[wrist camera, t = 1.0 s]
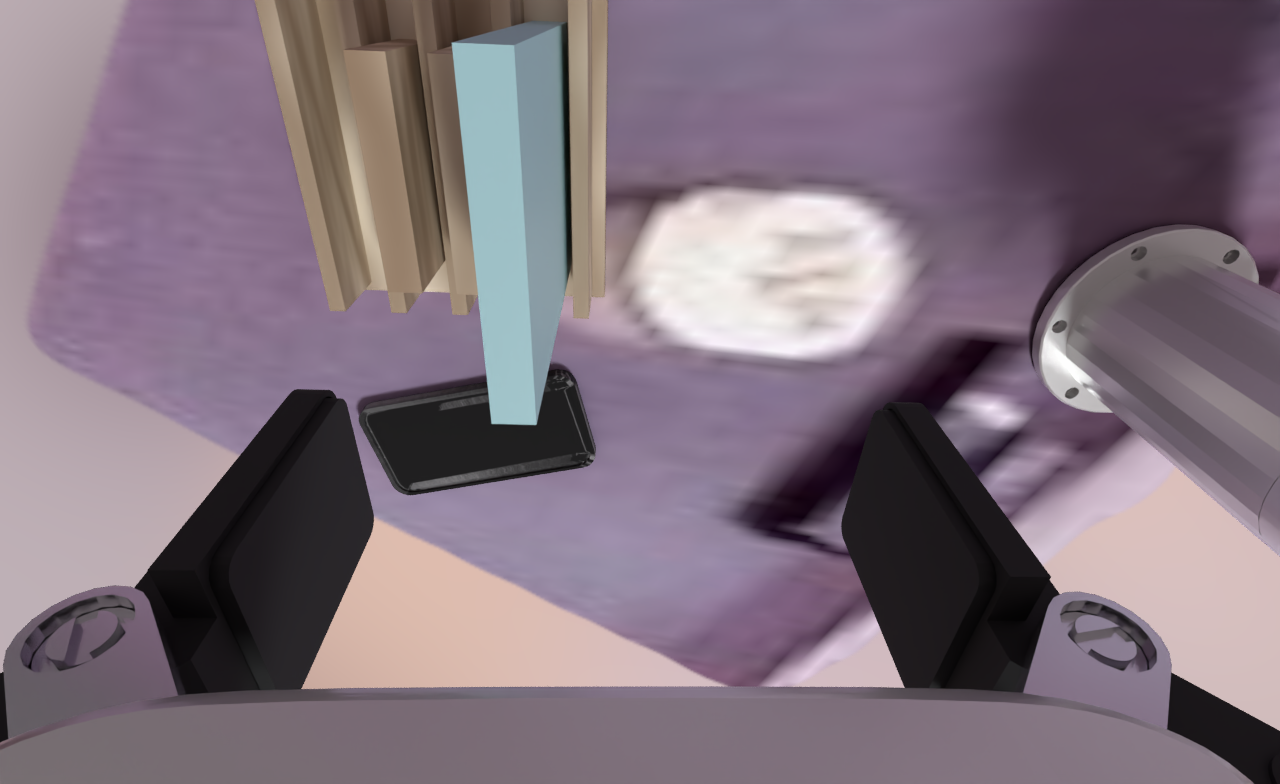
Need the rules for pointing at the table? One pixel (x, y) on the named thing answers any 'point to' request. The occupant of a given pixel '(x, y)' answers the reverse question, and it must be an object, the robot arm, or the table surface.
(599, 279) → the rack
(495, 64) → the tall sheet
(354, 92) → the offcut
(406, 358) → the table surface
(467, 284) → the offcut
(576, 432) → the phone
